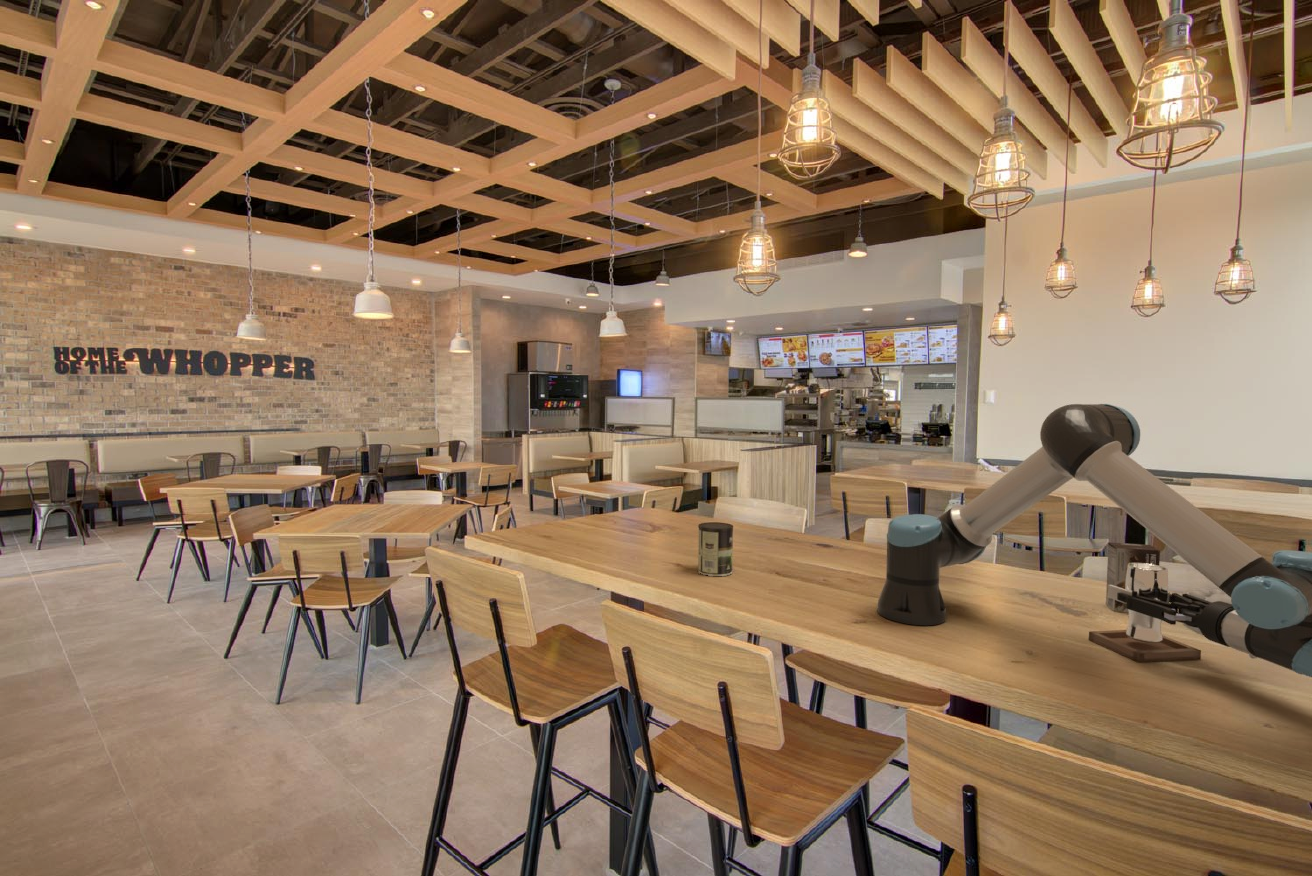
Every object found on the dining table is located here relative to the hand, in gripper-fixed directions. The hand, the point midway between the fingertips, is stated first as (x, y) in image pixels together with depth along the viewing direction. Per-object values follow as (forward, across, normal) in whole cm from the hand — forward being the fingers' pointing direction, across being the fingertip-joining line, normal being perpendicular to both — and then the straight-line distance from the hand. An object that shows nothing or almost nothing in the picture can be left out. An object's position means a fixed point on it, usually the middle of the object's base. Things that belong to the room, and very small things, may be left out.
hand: (1124, 590), depth 135 cm
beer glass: (-5, 0, -9) cm, 10 cm away
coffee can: (+62, -75, -11) cm, 98 cm away
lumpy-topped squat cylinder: (+4, +27, -11) cm, 30 cm away
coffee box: (+18, +20, -11) cm, 29 cm away
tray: (-5, 0, -11) cm, 12 cm away
